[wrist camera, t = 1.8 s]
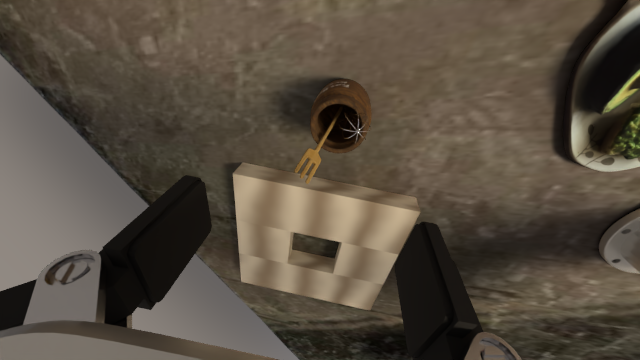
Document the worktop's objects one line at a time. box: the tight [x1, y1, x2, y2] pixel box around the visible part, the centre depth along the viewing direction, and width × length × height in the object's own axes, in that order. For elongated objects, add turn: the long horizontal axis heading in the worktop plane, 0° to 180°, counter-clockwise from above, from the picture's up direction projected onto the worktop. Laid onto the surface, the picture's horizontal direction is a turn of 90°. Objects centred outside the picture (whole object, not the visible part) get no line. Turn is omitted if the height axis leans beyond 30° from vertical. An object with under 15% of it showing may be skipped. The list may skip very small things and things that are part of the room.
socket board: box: [233, 162, 420, 310], centre depth 37 cm, size 24×24×3 cm
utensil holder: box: [294, 79, 371, 184], centre depth 21 cm, size 6×6×12 cm
